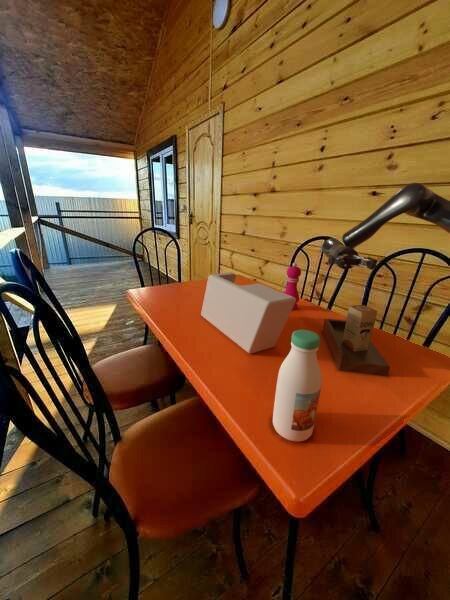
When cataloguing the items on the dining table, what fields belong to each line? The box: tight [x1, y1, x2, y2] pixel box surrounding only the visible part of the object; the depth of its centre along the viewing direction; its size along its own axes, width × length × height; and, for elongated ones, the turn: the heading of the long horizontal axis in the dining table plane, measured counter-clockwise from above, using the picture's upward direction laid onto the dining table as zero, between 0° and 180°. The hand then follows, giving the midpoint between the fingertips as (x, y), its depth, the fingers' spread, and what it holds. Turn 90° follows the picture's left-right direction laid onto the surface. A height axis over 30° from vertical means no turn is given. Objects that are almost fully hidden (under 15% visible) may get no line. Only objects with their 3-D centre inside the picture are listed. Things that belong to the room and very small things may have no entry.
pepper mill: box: [283, 262, 302, 311], centre depth 109 cm, size 7×7×20 cm
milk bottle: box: [272, 329, 323, 442], centre depth 46 cm, size 8×8×20 cm
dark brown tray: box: [322, 318, 391, 377], centre depth 78 cm, size 12×24×5 cm, turn 170°
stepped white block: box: [200, 272, 296, 355], centre depth 84 cm, size 30×10×30 cm, turn 31°
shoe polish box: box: [342, 304, 378, 351], centre depth 73 cm, size 5×5×12 cm
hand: (358, 265), depth 78 cm, fingers open, 8 cm apart
